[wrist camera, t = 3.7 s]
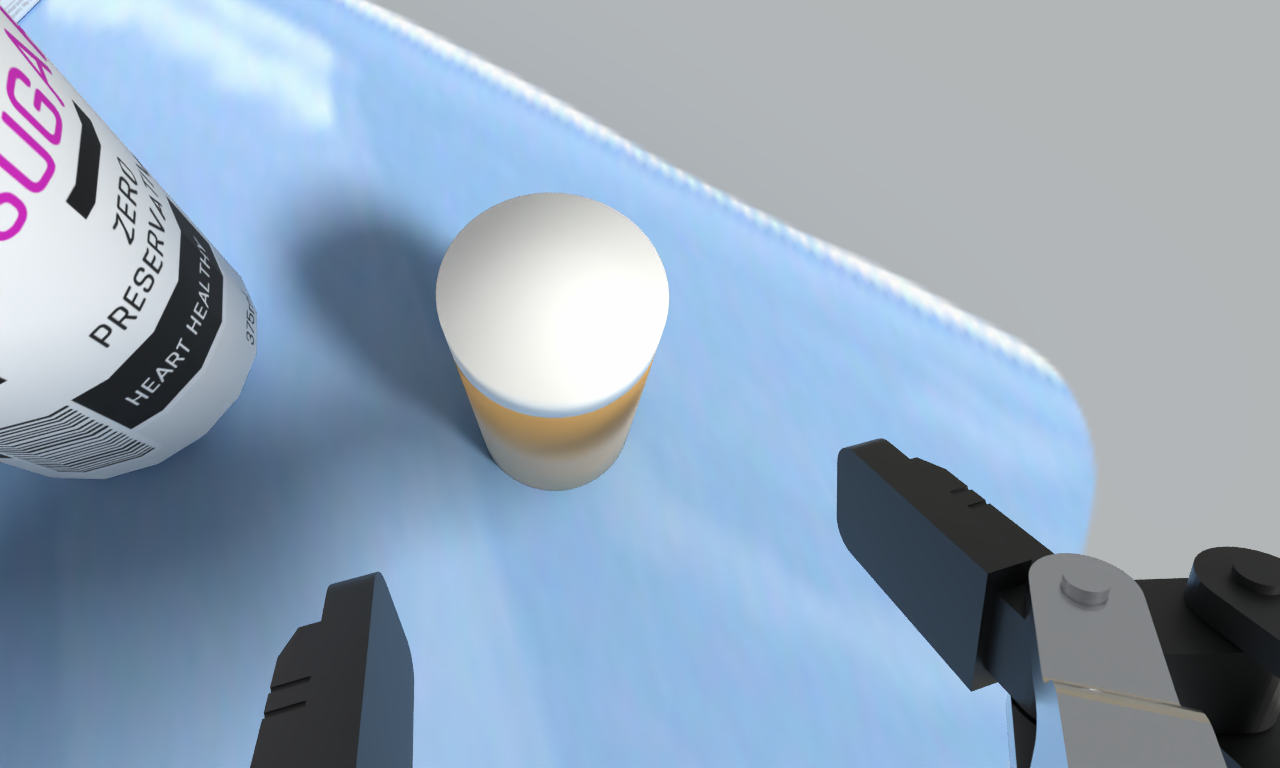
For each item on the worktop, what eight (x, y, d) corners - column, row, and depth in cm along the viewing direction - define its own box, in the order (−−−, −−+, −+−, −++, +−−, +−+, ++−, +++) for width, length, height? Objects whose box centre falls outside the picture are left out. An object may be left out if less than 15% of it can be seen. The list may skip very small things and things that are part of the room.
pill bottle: (454, 452, 22) (390, 337, 14) (523, 329, 24) (504, 160, 15) (591, 515, 22) (611, 439, 13) (651, 386, 24) (702, 247, 15)
